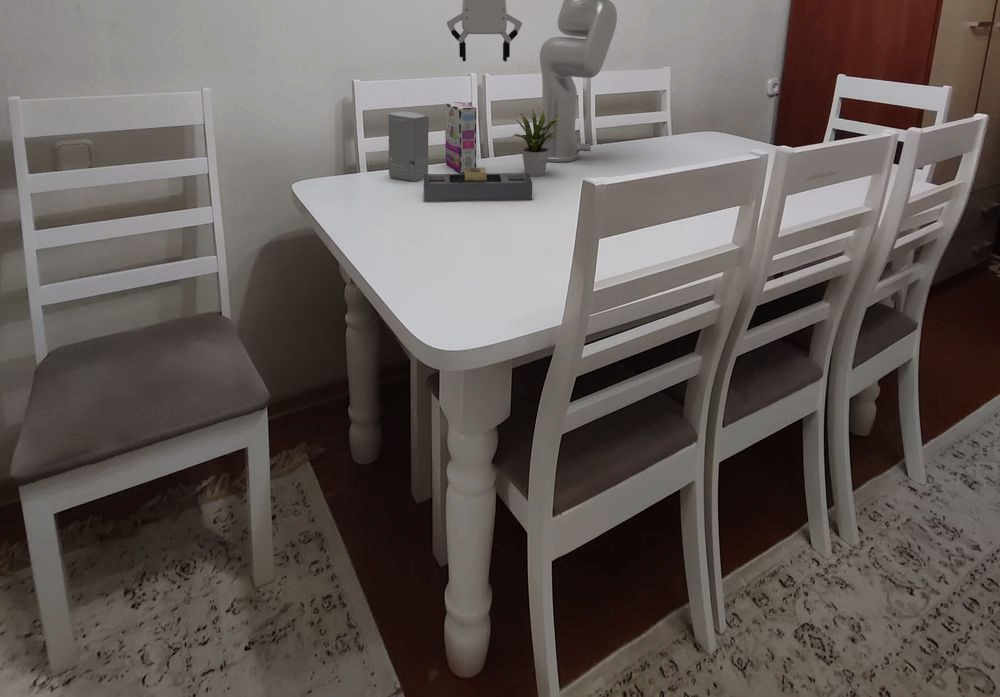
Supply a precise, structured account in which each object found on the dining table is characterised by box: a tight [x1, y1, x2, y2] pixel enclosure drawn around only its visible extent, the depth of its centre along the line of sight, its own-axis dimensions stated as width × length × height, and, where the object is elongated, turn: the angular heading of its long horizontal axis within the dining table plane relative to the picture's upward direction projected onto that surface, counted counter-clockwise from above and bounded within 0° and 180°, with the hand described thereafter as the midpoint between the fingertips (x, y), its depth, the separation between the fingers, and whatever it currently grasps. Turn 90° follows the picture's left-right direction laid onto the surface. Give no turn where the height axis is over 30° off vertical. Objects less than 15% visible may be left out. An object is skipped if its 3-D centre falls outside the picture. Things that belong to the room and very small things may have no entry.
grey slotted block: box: [423, 172, 533, 202], centre depth 167 cm, size 25×9×4 cm, turn 94°
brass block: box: [463, 167, 488, 182], centre depth 167 cm, size 5×5×6 cm
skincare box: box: [388, 110, 430, 182], centre depth 179 cm, size 8×7×16 cm
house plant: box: [512, 108, 564, 177], centre depth 182 cm, size 14×14×16 cm
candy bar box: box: [444, 101, 477, 174], centre depth 187 cm, size 11×5×16 cm, turn 25°
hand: (484, 60), depth 167 cm, fingers open, 9 cm apart
